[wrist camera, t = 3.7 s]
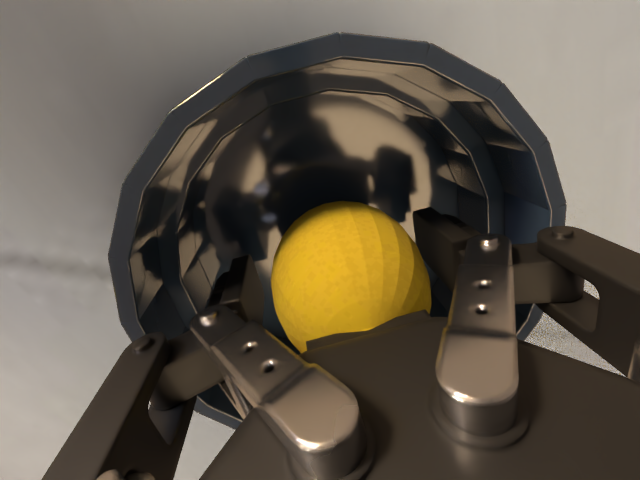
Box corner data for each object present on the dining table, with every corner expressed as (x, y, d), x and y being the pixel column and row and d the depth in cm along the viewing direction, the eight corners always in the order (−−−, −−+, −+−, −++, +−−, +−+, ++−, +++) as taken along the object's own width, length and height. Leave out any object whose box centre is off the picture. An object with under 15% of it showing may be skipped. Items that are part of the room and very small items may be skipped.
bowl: (103, 112, 13) (-5, 121, 8) (470, 15, 13) (586, -34, 8) (233, 382, 19) (216, 481, 14) (482, 314, 19) (553, 390, 14)
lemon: (396, 268, 17) (483, 398, 10) (292, 299, 17) (302, 451, 10) (375, 164, 15) (468, 231, 7) (256, 200, 15) (233, 301, 7)
